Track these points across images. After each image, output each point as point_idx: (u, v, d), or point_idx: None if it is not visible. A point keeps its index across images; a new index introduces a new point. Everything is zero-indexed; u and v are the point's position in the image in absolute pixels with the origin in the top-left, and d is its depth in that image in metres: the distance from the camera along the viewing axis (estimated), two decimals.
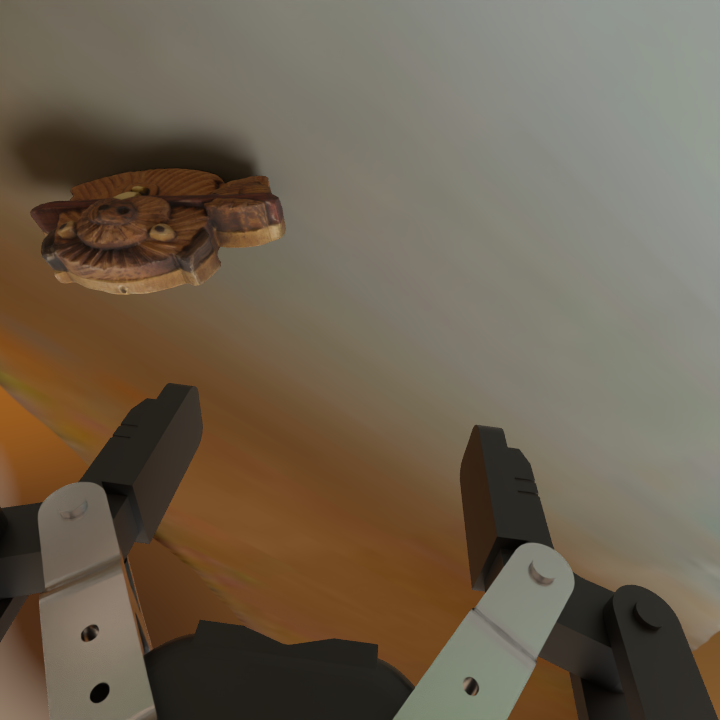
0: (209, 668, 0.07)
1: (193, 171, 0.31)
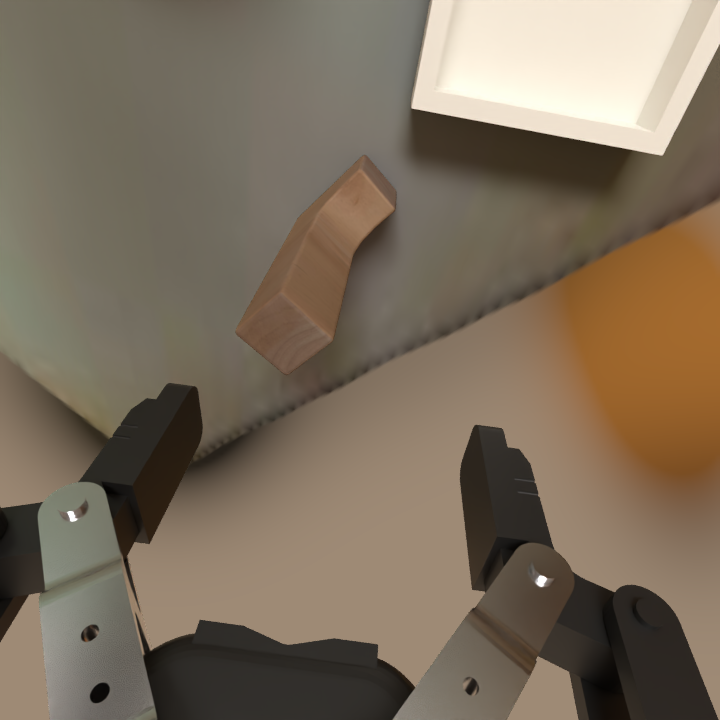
0: (209, 668, 0.07)
1: None
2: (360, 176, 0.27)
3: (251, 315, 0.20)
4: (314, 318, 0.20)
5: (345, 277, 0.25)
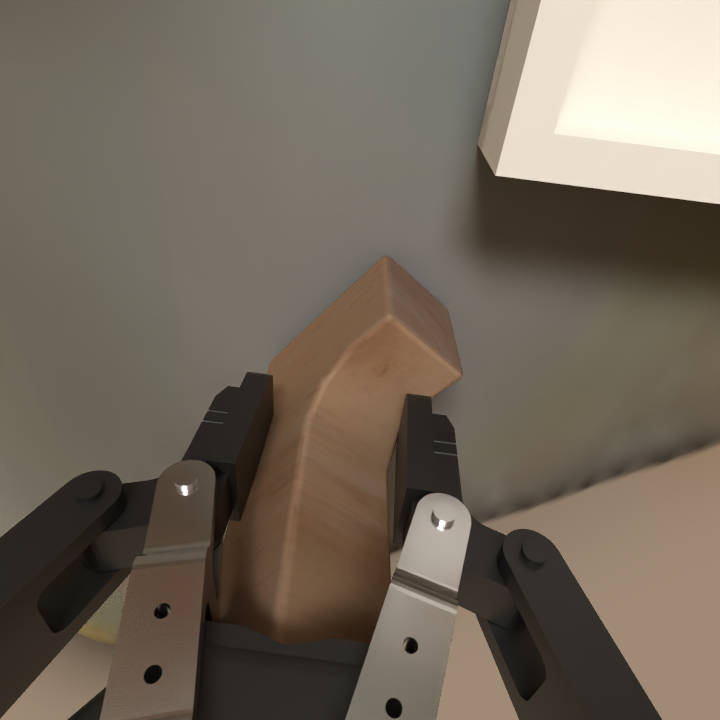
0: (209, 668, 0.07)
1: None
2: (390, 328, 0.13)
3: None
4: None
5: (386, 589, 0.11)
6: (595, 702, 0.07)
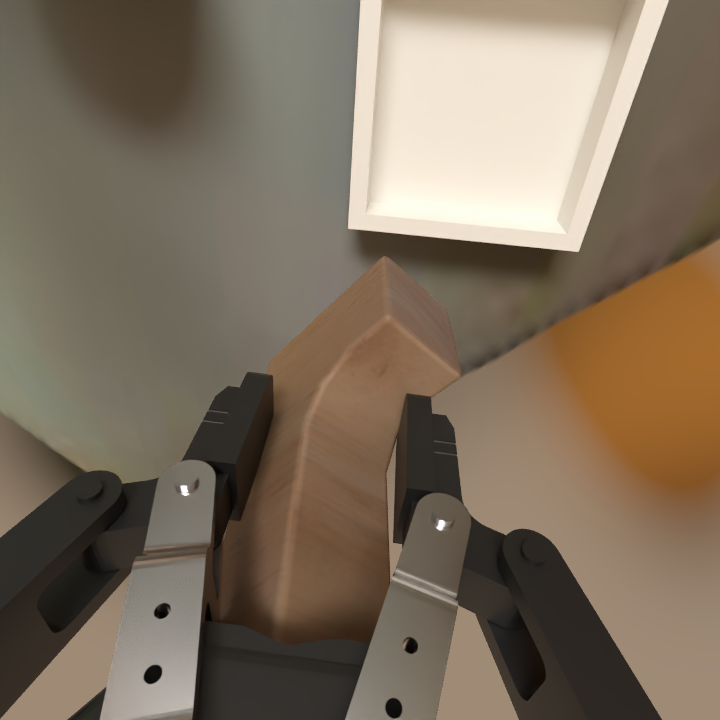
0: (209, 668, 0.07)
1: None
2: (389, 329, 0.13)
3: None
4: None
5: (386, 590, 0.11)
6: (595, 702, 0.07)
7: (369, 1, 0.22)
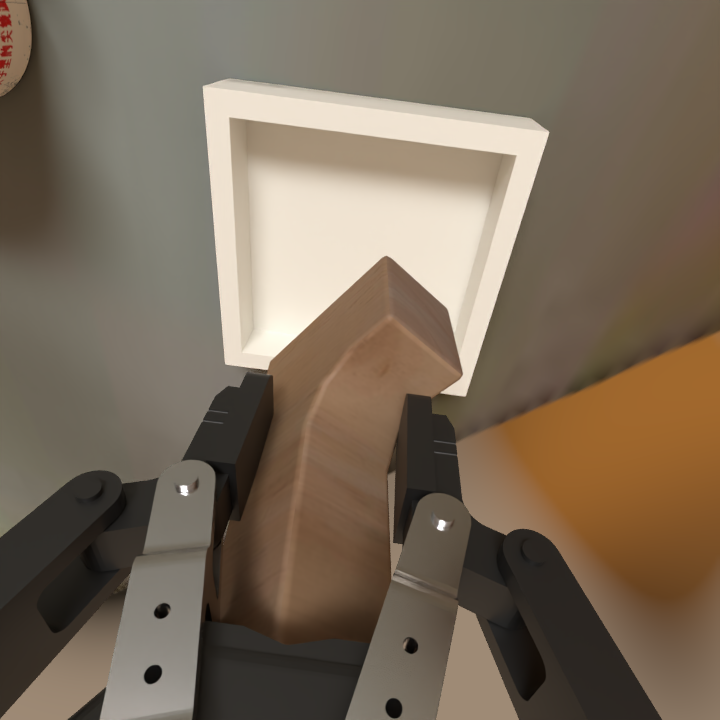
0: (209, 668, 0.07)
1: None
2: (391, 329, 0.13)
3: None
4: None
5: (387, 590, 0.11)
6: (595, 702, 0.07)
7: (218, 162, 0.20)
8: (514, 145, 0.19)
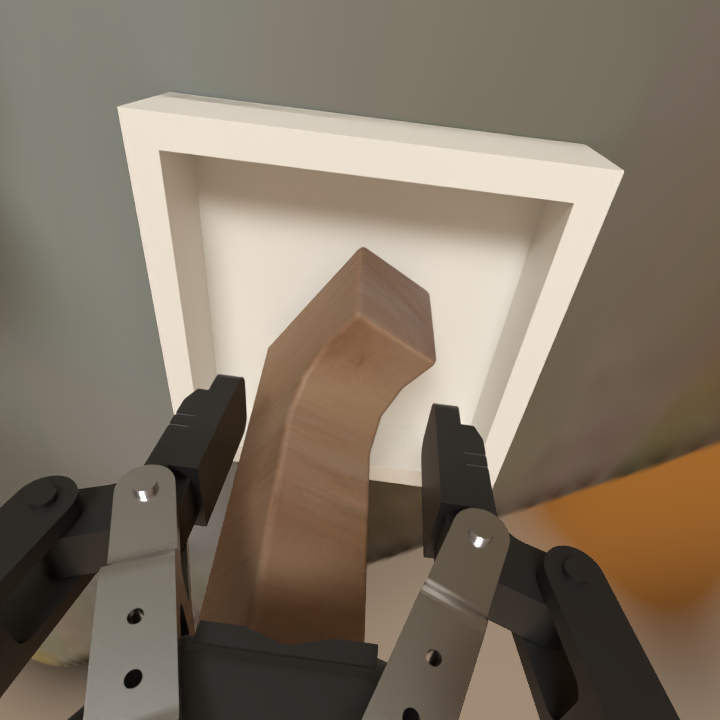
0: (209, 668, 0.07)
1: None
2: (360, 325, 0.14)
3: None
4: None
5: (362, 561, 0.13)
6: None
7: (149, 211, 0.15)
8: (571, 189, 0.13)
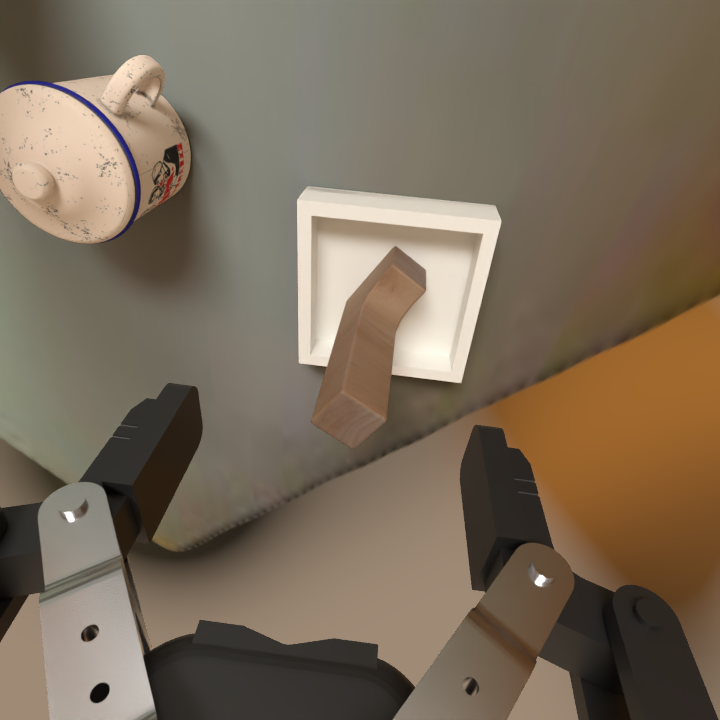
0: (209, 668, 0.07)
1: None
2: (393, 270, 0.33)
3: (321, 409, 0.26)
4: (370, 406, 0.26)
5: (391, 358, 0.31)
6: None
7: (303, 240, 0.34)
8: (481, 228, 0.32)
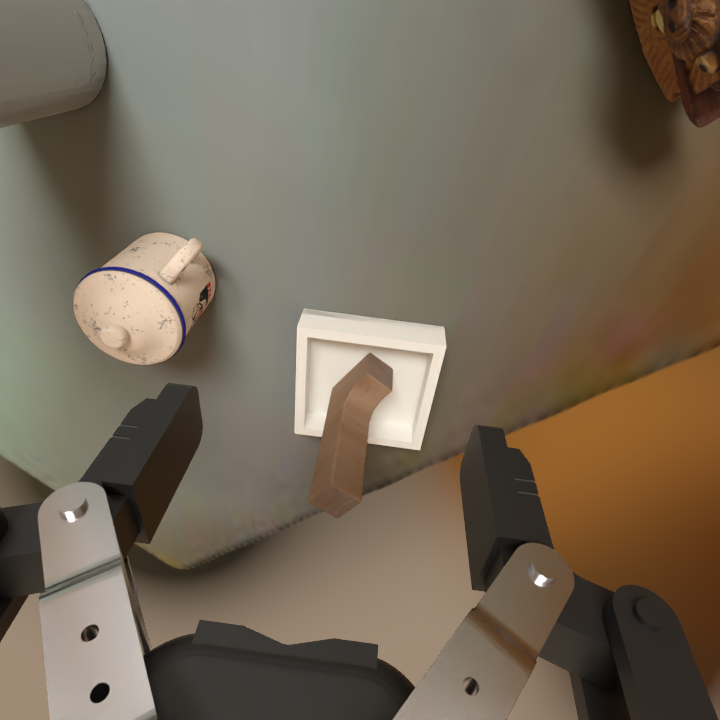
0: (209, 668, 0.07)
1: None
2: (368, 377, 0.45)
3: (316, 493, 0.38)
4: (349, 492, 0.38)
5: (365, 446, 0.43)
6: None
7: (300, 352, 0.45)
8: (432, 350, 0.44)
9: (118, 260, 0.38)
